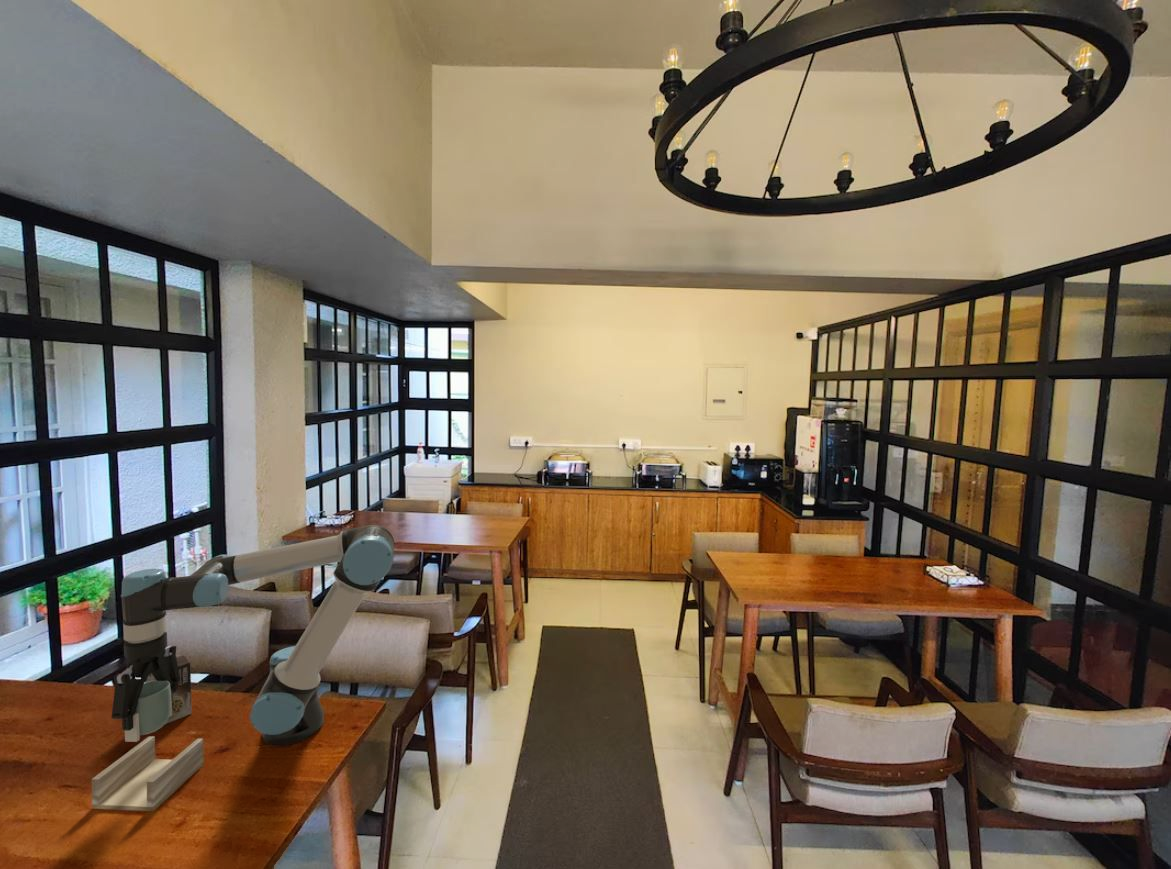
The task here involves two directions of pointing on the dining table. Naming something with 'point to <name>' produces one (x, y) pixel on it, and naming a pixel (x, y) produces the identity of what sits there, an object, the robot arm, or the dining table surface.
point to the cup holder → (144, 777)
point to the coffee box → (180, 690)
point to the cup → (154, 706)
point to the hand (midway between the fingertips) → (149, 727)
